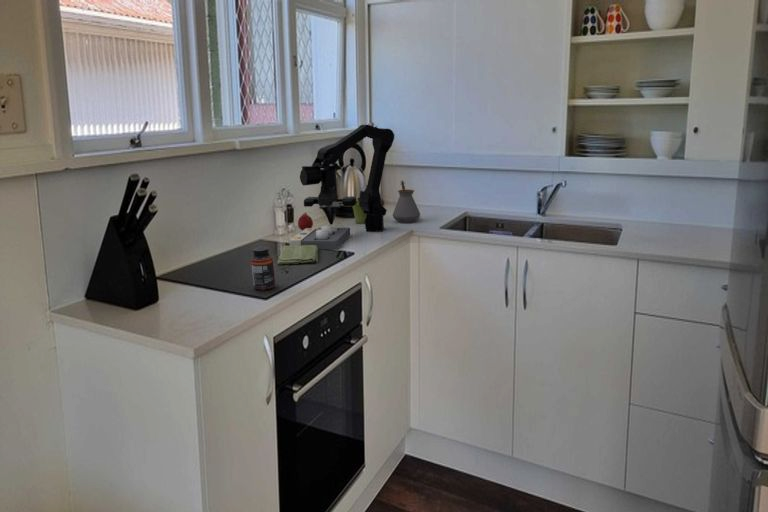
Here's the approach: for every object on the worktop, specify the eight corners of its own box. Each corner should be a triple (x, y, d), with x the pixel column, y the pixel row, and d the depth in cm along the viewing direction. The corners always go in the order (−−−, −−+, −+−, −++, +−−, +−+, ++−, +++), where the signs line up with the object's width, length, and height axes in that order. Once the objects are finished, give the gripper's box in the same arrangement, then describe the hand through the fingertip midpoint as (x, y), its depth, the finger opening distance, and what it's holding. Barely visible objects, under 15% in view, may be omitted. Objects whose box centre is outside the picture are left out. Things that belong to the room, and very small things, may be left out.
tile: (316, 235, 228) (316, 227, 228) (301, 248, 209) (300, 239, 209) (306, 235, 229) (305, 227, 228) (290, 248, 210) (289, 239, 209)
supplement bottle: (264, 283, 171) (261, 244, 168) (279, 286, 168) (276, 247, 165) (249, 289, 166) (245, 249, 163) (264, 292, 163) (260, 252, 160)
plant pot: (373, 224, 245) (373, 203, 243) (350, 225, 246) (349, 204, 243) (374, 219, 254) (373, 199, 252) (352, 220, 255) (351, 200, 252)
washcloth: (276, 267, 189) (275, 257, 188) (282, 253, 206) (281, 244, 205) (318, 265, 190) (317, 255, 189) (320, 251, 207) (319, 242, 206)
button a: (338, 236, 226) (338, 226, 225) (336, 238, 222) (335, 228, 221) (328, 235, 227) (328, 226, 226) (325, 238, 223) (325, 228, 222)
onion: (310, 234, 232) (309, 213, 230) (296, 234, 233) (295, 213, 231) (315, 230, 237) (313, 211, 235) (301, 230, 238) (300, 211, 236)
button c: (329, 239, 212) (328, 229, 211) (326, 242, 208) (325, 231, 207) (318, 239, 213) (317, 229, 212) (315, 242, 209) (314, 231, 208)
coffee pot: (421, 223, 244) (421, 186, 240) (393, 224, 243) (392, 188, 239) (416, 213, 264) (415, 179, 261) (390, 214, 264) (389, 181, 260)
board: (350, 235, 227) (350, 227, 226) (336, 249, 206) (336, 241, 205) (319, 235, 229) (319, 227, 228) (302, 249, 208) (302, 241, 207)
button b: (334, 234, 219) (333, 225, 218) (331, 237, 215) (330, 227, 214) (323, 234, 219) (322, 225, 218) (320, 237, 216) (319, 227, 215)
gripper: (297, 186, 213) (300, 229, 217) (348, 185, 210) (351, 229, 214) (306, 181, 224) (309, 222, 228) (355, 181, 220) (357, 222, 224)
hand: (331, 224), depth 223 cm, fingers closed
